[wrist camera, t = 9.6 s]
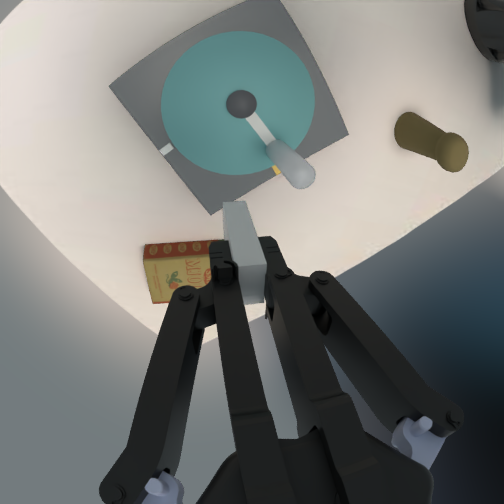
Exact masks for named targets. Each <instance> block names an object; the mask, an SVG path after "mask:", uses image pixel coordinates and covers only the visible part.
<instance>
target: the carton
mask: <svg viewBox="0 0 504 504" xmlns="http://www.w3.org/2000/svg"><path fill="white" fill-rule="evenodd" d="M213 241H224V239H223V240H207V241H192V242H177V243H162V244H149V245H146V244H145V248H144V255H143V264H144V269H145V273H146V277H147V282H148V286H149V291H150V295H151V299H152V303H153V304H160V303H169V302H170V299H171V296H172V294H173V292H174V290H176V289H177V288H178V287H181V286H184V285H190V286H194V287H195V288H197V289H198V288H201V287H203V286H205V285H207V284H208V283H209V281H210V280H211V270H210V259H209V248H208V247H209V245H210V244H211V242H213Z"/></svg>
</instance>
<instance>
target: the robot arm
mask: <svg viewBox="0 0 504 504" xmlns="http://www.w3.org/2000/svg"><path fill="white" fill-rule="evenodd" d="M465 13H466V18H467V23H468V26H469V30H470V32H471V35H472V37H473V40H474V42H475V44H476V45H477V47H478V49H479V50H480V52H481V53H482V54H483V55H484V56H485V57H486V58H487V59H489V60H491V61H495V62H498V63H504V0H465ZM223 226H224V241H213V242H211V244H210V245H209V247H208V248H209V259H210V270H211V280H210V281H209V283H208V284H207V285H205V286H203V287H201V288H198V289H197V288H195V287H194V286H190V285H184V286H181V287H178V288H177V289H176V290H174V292H173V294H172V296H171V299H170V302H169V305H168V308H167V311H166V314H165V317H164V319H163V322H162V325H161V328H160V331H159V335H158V338H157V341H156V344H155V347H154V350H153V353H152V356H151V360H150V363H149V366H148V369H147V373H146V376H145V380H144V383H143V387H142V390H141V393H140V397H139V401H138V404H137V408H136V412H135V415H134V419H133V423H132V427H131V431H130V435H129V439H128V443H127V447H126V448H125V450H124V451H123V453H122V454H121V455H120V457H119V458H118V460H117V461H116V463H115V464H114V465H113V467H112V468H111V469H110V471H109V472H108V474H107V475H106V476H105V478H104V479H103V481H102V482H101V484H100V487H99V494H100V497H101V499H102V501H103V502H104V503H105V504H183V503H182V499H183V495H184V488H183V485H182V483H181V482H180V481H179V480H178V479H176V478H175V477H174V476H175V473H176V471H177V468H178V465H179V461H180V456H181V451H182V445H183V439H184V433H185V428H186V422H187V417H188V411H189V406H190V401H191V395H192V389H193V385H194V380H195V374H196V370H197V365H198V360H199V355H200V350H201V345H202V340H203V335H204V331H205V328H206V327H208V326H211V325H213V324H217V332H218V339H219V347H220V353H221V361H222V368H223V375H224V382H225V388H226V395H227V401H228V407H229V412H230V419H231V425H232V431H233V436H234V442H235V448H236V451H235V452H234V453H232V454H231V455H230V456H229V457H228V458H226V460H225V461H224V462H223V463H222V465H221V466H220V468H219V469H218V471H217V472H216V474H215V476H214V477H213V479H212V480H211V482H210V484H209V485H208V486H207V488H206V489H205V491H204V492H203V494H202V495H201V497H200V498H199V500H198V501H197V502H196V504H431V499H432V493H433V487H434V486H433V484H434V482H433V477H432V475H431V473H430V471H429V469H430V467H431V465H432V463H433V461H434V460H435V458H436V456H437V454H438V452H439V450H440V448H441V446H442V444H443V442H444V440H445V438H446V437H447V436H449V435H450V434H452V433H453V432H455V431H457V430H458V429H460V428H461V426H462V424H463V421H464V414H463V411H462V409H461V408H460V407H459V406H458V405H456V404H455V403H453V402H452V401H450V400H449V399H447V398H446V397H444V396H442V395H441V394H439V393H438V392H436V391H435V390H433V389H432V388H430V387H428V385H427V384H426V383H425V382H424V380H423V379H422V378H421V377H420V376H419V374H418V373H417V372H416V371H415V369H414V368H413V367H412V366H411V364H410V363H409V362H408V361H407V360H406V358H405V357H404V356H403V355H402V354H401V352H400V351H399V350H398V349H397V348H396V347H395V345H394V344H393V343H392V342H391V341H390V340H389V338H388V337H387V336H386V335H385V334H384V333H383V331H382V330H380V328H379V327H378V326H377V325H376V323H375V322H374V321H373V320H372V319H371V318H370V317H369V316H368V314H367V313H366V312H365V311H364V310H363V309H362V308H361V306H360V305H359V304H358V303H357V302H356V301H355V300H354V299H353V297H352V296H351V295H350V294H349V293H348V292H347V291H346V290H345V289H344V288H343V286H342V285H341V284H340V283H339V282H338V281H337V280H336V279H335V278H334V277H333V276H332V275H331V274H330V273H328V272H325V271H315V272H313V273H312V274H311V275H310V277H304V276H299V275H296V274H294V272H293V271H292V270H291V269H290V268H288V267H287V265H286V263H285V260H284V258H283V256H282V253H281V252H280V249H279V246H278V244H277V241H276V240H275V239H274V238H272V237H271V236H265V237H258V236H257V233H256V230H255V228H254V225H253V222H252V219H251V216H250V213H249V210H248V207H247V204H246V202H245V201H233V202H223ZM264 296H265V300H266V311H265V319H267V316H268V319H269V323H270V326H271V330H272V333H273V337H274V340H275V344H276V348H277V351H278V355H279V358H280V362H281V366H282V369H283V373H284V376H285V380H286V383H287V387H288V390H289V394H290V397H291V401H292V405H293V408H294V412H295V415H296V419H297V430H298V436H299V438H298V439H278V437H277V433H276V429H275V425H274V421H273V417H272V414H271V412H270V411H269V409H268V406H267V402H266V398H265V394H264V390H263V385H262V381H261V377H260V373H259V369H258V364H257V360H256V356H255V351H254V347H253V343H252V338H251V334H250V329H249V325H248V320H247V315H246V311H245V306H244V305H248V304H256V303H264ZM324 345H325V346H326V348H327V349H328V351H329V352H330V353H331V355H332V356H333V357H334V359H335V360H336V361H337V363H338V364H339V366H340V367H341V368H342V370H343V371H344V373H345V374H346V375H347V377H348V378H349V380H350V381H351V382H352V384H353V385H354V386H355V388H356V389H357V390H358V392H359V393H360V395H361V396H362V397H363V398H364V400H365V402H366V403H367V404H368V406H369V407H370V408H371V410H372V411H373V413H374V414H375V416H376V417H377V418H378V419H379V420H380V422H381V423H382V424H383V425H384V426H385V427H386V428H387V429H388V430H389V431H391V432H392V433H393V439H392V445H393V446H394V447H397V448H398V449H399V450H400V452H399V451H397V450H395V449H393V448H392V447H390V446H388V445H387V444H385V443H383V442H382V441H380V440H378V439H377V438H375V437H373V436H372V435H370V434H368V433H367V432H365V431H364V430H363V427H362V424H361V422H360V419H359V416H358V414H357V411H356V409H355V406H354V403H353V401H352V399H351V397H350V396H349V395H348V394H347V393H344V392H343V391H342V389H341V388H340V385H339V382H338V379H337V377H336V375H335V372H334V369H333V367H332V364H331V361H330V359H329V356H328V354H327V351H326V349H325V346H324Z"/></svg>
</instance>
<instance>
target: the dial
mask: <svg viewBox="0 0 504 504" xmlns="http://www.w3.org/2000/svg"><path fill="white" fill-rule="evenodd" d="M314 108H315V95H314V87H313V84H312V80H311V77H310V75H309V72H308V70H307V69H306V67H305V65H304V64H303V62H302V61H301V60H300V58H299V57H298V56H297V55H296V54H295V53H294V52H293V51H292V50H291V49H290V48H289V47H287V46H286V45H284V44H283V43H281V42H280V41H278V40H276V39H274V38H272V37H269V36H266V35H264V34H260V33H255V32H248V31H231V32H225V33H220V34H217V35H213V36H210V37H208V38H206V39H204V40H202V41H200V42H198V43H197V44H195V45H194V46H192V47H191V48H189V49H188V50H187V51H186V52H185V53H184V54H183V55H182V56H181V57H180V58H179V59H178V60H177V61H176V63H175V64H174V66H173V67H172V69H171V70H170V72H169V74H168V76H167V78H166V81H165V84H164V87H163V91H162V97H161V113H162V120H163V123H164V127H165V130H166V132H167V134H168V136H169V138H170V140H171V141H172V143H173V144H174V146H175V147H176V148H177V149H178V151H179V152H180V153H181V154H182V155H183V156H185V157H186V158H187V159H188V160H190V161H191V162H193V163H194V164H196V165H198V166H199V167H201V168H203V169H206V170H209V171H212V172H215V173H220V174H227V175H244V174H251V173H255V172H259V171H262V170H265V169H268V168H270V167H272V166H274V165H276V167H277V168H278V169H279V170H280V171H281V173H282V174H283V175H284V176H285V177H286V179H287V180H288V181H289V182H290V184H291V185H292V186H293V187H295V188H297V189H305V188H307V187H309V186H310V185H311V184H312V183H313V182H314V180H315V175H316V174H315V170H314V168H313V167H312V166H311V165H310V164H309V163H308V162H307V161H306V160H304V159H303V158H302V157H301V156H300V155H299V154H298V153H296V152H295V151H294V150H295V149H296V148H297V147H298V145H299V144H300V143H301V142H302V140H303V139H304V137H305V135H306V134H307V132H308V129H309V127H310V125H311V122H312V118H313V114H314Z"/></svg>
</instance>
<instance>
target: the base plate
mask: <svg viewBox="0 0 504 504" xmlns="http://www.w3.org/2000/svg"><path fill="white" fill-rule="evenodd" d="M231 31H248V32H255V33H260V34H264V35H266V36H269V37H272V38H274V39H276V40H278V41H280V42H281V43H283V44H284V45H286V46H287V47H289V48H290V49H291V50H292V51H293V52H294V53H295V54H296V55H297V56H298V57H299V58H300V60H301V61H302V62H303V64H304V65H305V67H306V69H307V70H308V72H309V75H310V77H311V80H312V84H313V87H314V95H315V108H314V114H313V118H312V122H311V125H310V127H309V129H308V132H307V134H306V135H305V137H304V139H303V140H302V142H301V143H300V144H299V145H298V147H297V148H296V149H295V150H294V151H295V152H296V153H298V154H299V155H300V156H301V157H302V158H303V159H305V158H307V157H309V156H311V155H312V154H314V153H316V152H318V151H320V150H321V149H323V148H325V147H327V146H329V145H331V144H332V143H334V142H336V141H338V140H340V139H342V138H344V137H345V136H347V135H349V134H348V131H347V129H346V126H345V124H344V121H343V119H342V117H341V114H340V112H339V109H338V107H337V105H336V103H335V100H334V98H333V96H332V94H331V92H330V89H329V87H328V85H327V83H326V81H325V79H324V77H323V75H322V73H321V71H320V69H319V67H318V65H317V63H316V61H315V59H314V57H313V55H312V53H311V51H310V50H309V48H308V46H307V44H306V42H305V40H304V39H303V37H302V35H301V33H300V32H299V30H298V28H297V27H296V25H295V23H294V22H293V20H292V18H291V17H290V15H289V13H288V12H287V10H286V9H285V7H284V6H283V4H282V3H281V1H280V0H248V1H245V2H243V3H241V4H238V5H236V6H234V7H232V8H230V9H227V10H225V11H223V12H221V13H219V14H217V15H215V16H213V17H211V18H209V19H207V20H205V21H203V22H201V23H200V24H198V25H196V26H194V27H192V28H191V29H189V30H187V31H185V32H184V33H182V34H180V35H179V36H177V37H175V38H174V39H172V40H171V41H169V42H167V43H166V44H164V45H163V46H161V47H160V48H158V49H157V50H155V51H154V52H152V53H151V54H149V55H148V56H147V57H145V58H144V59H142V60H141V61H140V62H138V63H137V64H136V65H134V66H133V67H132V68H130V69H129V70H128V71H126V72H125V73H124V74H123V75H121V76H120V77H119V78H118V79H116V80H115V81H114V82H113V83H112V84H110V85H109V87H110V89H111V90H112V91H113V93H114V94H115V95H116V96H117V98H118V99H119V100H120V102H121V103H122V104H123V105H124V107H125V108H126V109H127V111H128V112H129V113H130V114H131V116H132V117H133V118H134V120H135V121H136V122H137V123H138V125H139V126H140V127H141V128H142V130H143V131H144V132H145V134H146V135H147V136H148V137H149V139H150V140H151V141H152V142H153V144H154V145H155V146H156V148H157V149H158V150H159V151H160V153H161V154H162V155H163V156H164V158H165V159H166V160H167V161H168V163H169V164H170V165H171V166H172V168H173V169H174V170H175V172H176V173H177V174H178V175H179V177H180V178H181V179H182V180H183V182H184V183H185V184H186V185H187V187H188V188H189V189H190V190H191V192H192V193H193V194H194V195H195V197H196V198H197V199H198V200H199V202H200V203H201V204H202V205H203V207H204V208H205V209H206V210H207V212H208V213H209V214H210V215H212V214H214V213H215V212H217V211H218V210H220V209H222V208H223V202H233V201H234V200H236V199H238V198H239V197H241V196H242V195H244V194H246V193H247V192H249V191H251V190H252V189H254V188H256V187H257V186H259V185H261V184H262V183H264V182H266V181H267V180H269V179H271V178H272V177H274V176H276V175H278V174H280V173H281V171H280V170H279V169H278V168H277V167H276V165H274V166H272V167H270V168H268V169H265V170H262V171H259V172H255V173H251V174H244V175H227V174H220V173H215V172H212V171H209V170H206V169H203V168H201V167H199V166H198V165H196V164H194V163H193V162H191V161H190V160H188V159H187V158H186V157H185V156H183V155H182V154H181V153H180V152H179V151H178V149H177V148H176V147H175V146H174V144H173V143H172V141H171V140H170V138H169V136H168V134H167V132H166V130H165V127H164V123H163V120H162V113H161V97H162V91H163V87H164V84H165V81H166V78H167V76H168V74H169V72H170V70H171V69H172V67H173V66H174V64H175V63H176V61H177V60H178V59H179V58H180V57H181V56H182V55H183V54H184V53H185V52H186V51H187V50H188V49H189V48H191V47H192V46H194V45H195V44H197V43H198V42H200V41H202V40H204V39H206V38H208V37H210V36H213V35H217V34H220V33H225V32H231Z"/></svg>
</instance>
